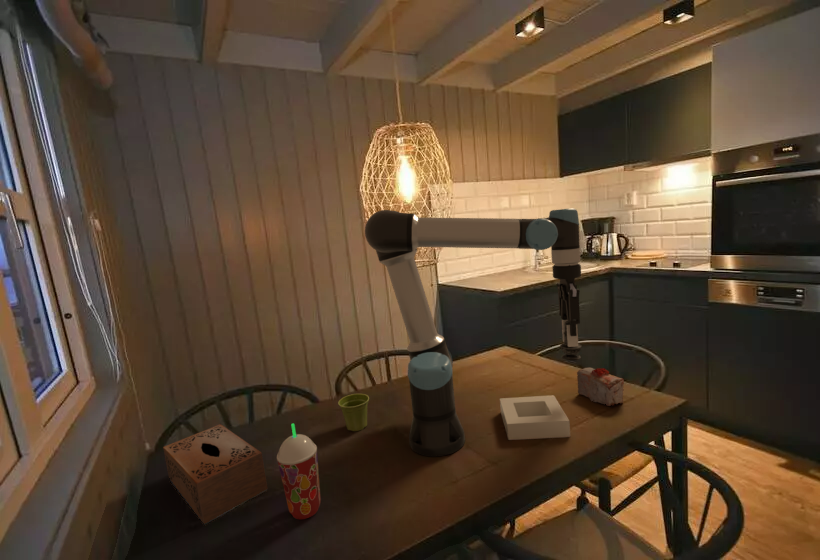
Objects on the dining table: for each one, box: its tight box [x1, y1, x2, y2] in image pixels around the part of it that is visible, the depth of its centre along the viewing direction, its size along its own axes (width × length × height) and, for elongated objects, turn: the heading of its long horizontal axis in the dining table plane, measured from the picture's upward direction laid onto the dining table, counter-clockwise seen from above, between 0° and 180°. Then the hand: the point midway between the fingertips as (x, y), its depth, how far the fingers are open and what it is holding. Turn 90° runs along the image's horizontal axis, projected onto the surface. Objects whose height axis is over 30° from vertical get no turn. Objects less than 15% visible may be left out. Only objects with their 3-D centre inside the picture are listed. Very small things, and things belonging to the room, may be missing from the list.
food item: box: [576, 367, 625, 407], centre depth 125 cm, size 14×8×10 cm, turn 24°
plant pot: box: [337, 393, 370, 432], centre depth 124 cm, size 9×9×9 cm
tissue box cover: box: [162, 423, 268, 524], centre depth 101 cm, size 26×14×10 cm, turn 45°
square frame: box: [499, 395, 571, 441], centre depth 115 cm, size 16×16×4 cm
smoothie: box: [276, 423, 322, 520], centre depth 87 cm, size 8×8×20 cm
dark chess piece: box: [559, 321, 582, 362], centre depth 118 cm, size 6×6×12 cm
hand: (570, 343), depth 118 cm, fingers closed on dark chess piece, 4 cm apart
